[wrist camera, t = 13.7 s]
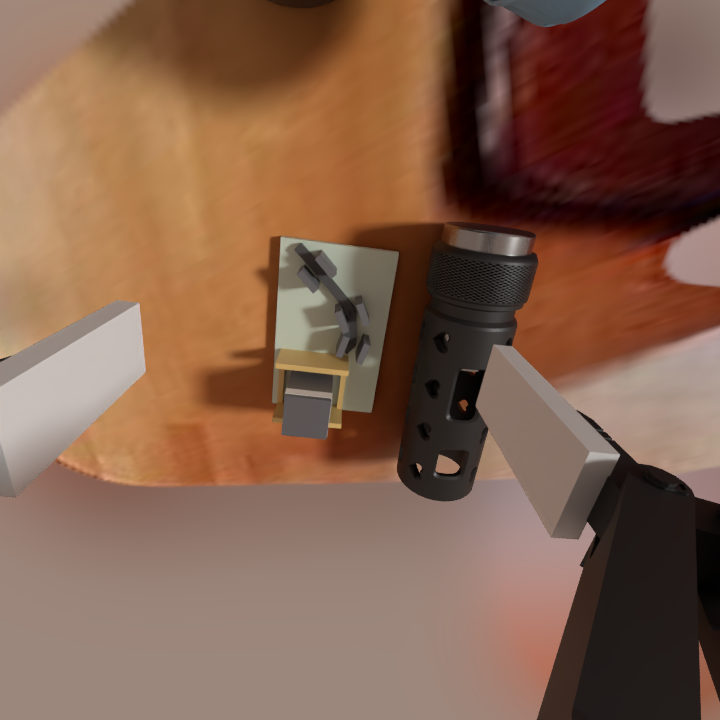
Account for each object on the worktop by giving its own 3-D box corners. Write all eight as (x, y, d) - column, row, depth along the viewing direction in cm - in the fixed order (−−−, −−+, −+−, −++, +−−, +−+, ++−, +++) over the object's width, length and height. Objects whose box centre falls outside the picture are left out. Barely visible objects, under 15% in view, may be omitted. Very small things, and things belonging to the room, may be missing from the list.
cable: (293, 246, 40) (292, 247, 39) (322, 233, 40) (322, 234, 39) (344, 352, 45) (344, 355, 44) (370, 341, 45) (371, 344, 44)
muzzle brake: (389, 443, 52) (399, 501, 43) (425, 216, 41) (450, 228, 31) (461, 447, 53) (486, 506, 43) (516, 226, 41) (567, 240, 32)
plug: (294, 360, 45) (284, 395, 38) (334, 365, 46) (332, 400, 39) (290, 395, 47) (280, 435, 40) (329, 399, 48) (326, 439, 40)
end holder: (281, 348, 45) (275, 363, 41) (348, 355, 45) (348, 371, 42) (277, 403, 48) (272, 422, 44) (341, 409, 48) (340, 428, 45)
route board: (282, 235, 41) (276, 241, 37) (397, 251, 42) (402, 258, 38) (273, 398, 48) (267, 416, 45) (371, 408, 50) (373, 426, 46)
